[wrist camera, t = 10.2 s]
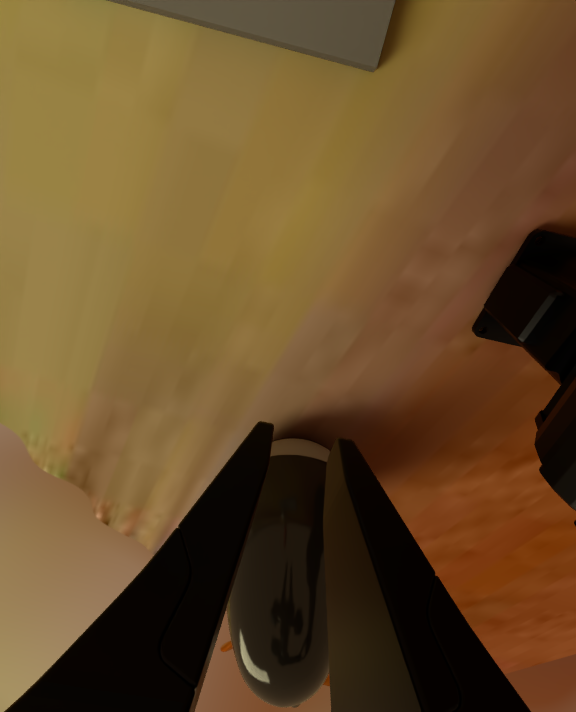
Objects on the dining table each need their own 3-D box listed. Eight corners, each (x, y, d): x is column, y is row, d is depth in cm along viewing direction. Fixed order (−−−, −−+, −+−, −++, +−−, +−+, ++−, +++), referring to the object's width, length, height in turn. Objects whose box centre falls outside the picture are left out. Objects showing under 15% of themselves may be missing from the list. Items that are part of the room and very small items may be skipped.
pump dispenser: (252, 495, 32) (211, 721, 20) (228, 421, 27) (149, 670, 14) (355, 494, 31) (381, 735, 18) (351, 415, 25) (387, 685, 13)
